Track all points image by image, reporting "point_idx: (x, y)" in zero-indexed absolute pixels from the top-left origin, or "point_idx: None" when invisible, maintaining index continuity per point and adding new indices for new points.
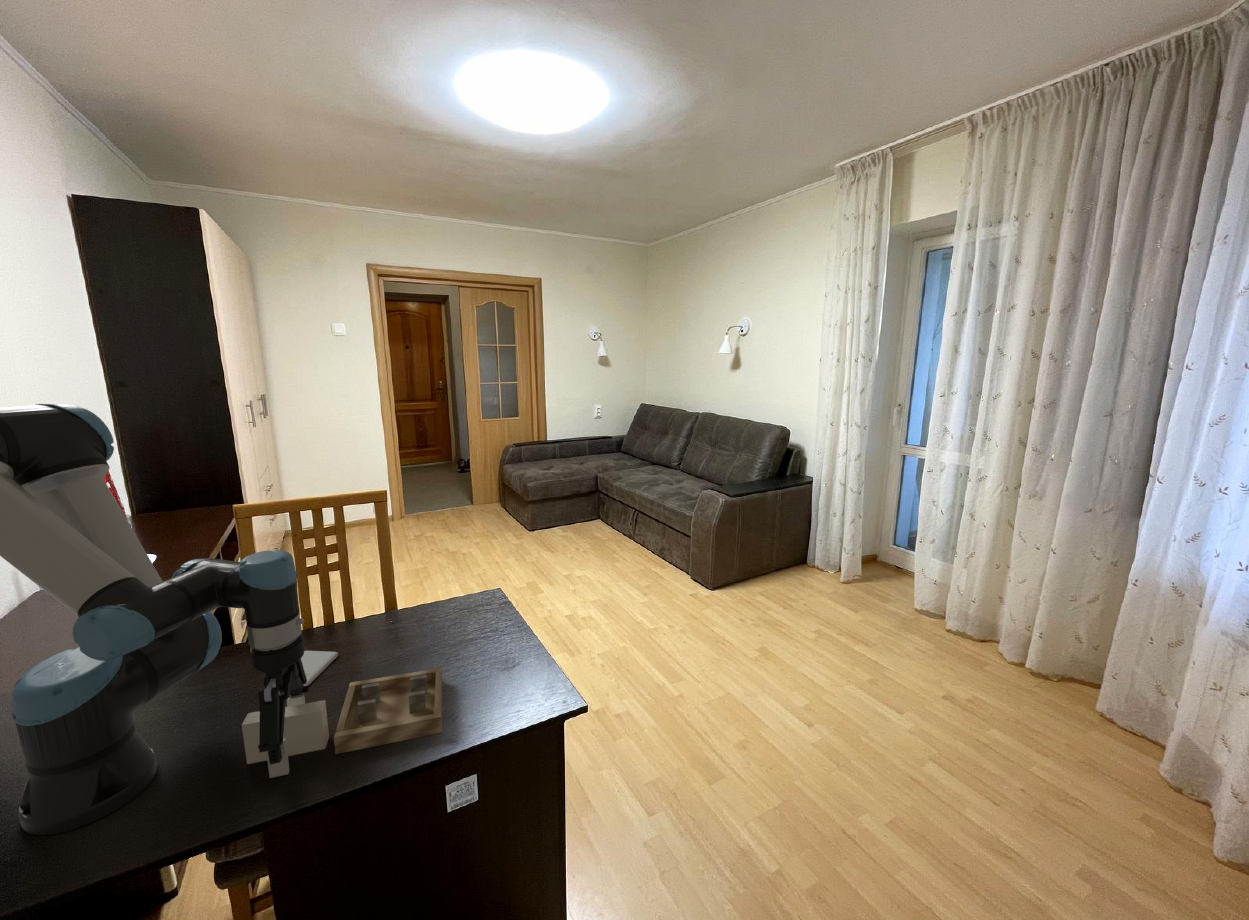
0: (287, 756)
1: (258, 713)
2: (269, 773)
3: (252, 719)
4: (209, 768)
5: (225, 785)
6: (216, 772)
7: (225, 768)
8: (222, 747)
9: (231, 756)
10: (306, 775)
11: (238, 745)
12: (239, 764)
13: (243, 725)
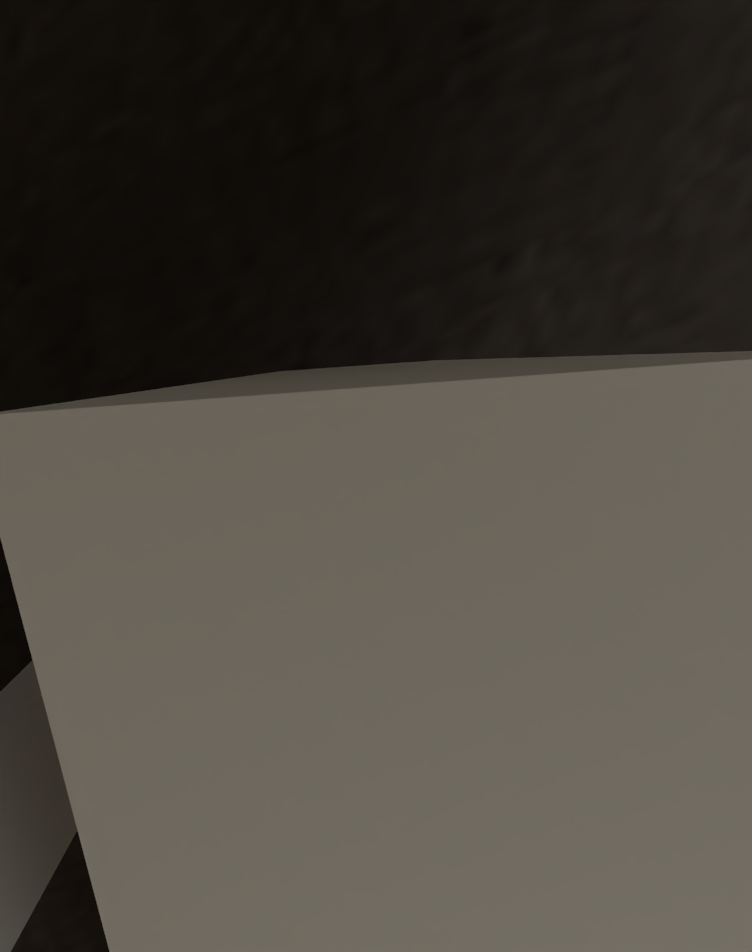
0: (31, 893)
1: (707, 794)
2: (32, 661)
3: (338, 753)
4: (287, 7)
5: (29, 285)
6: (216, 114)
7: (257, 185)
8: (579, 13)
9: (416, 174)
10: (79, 847)
11: (560, 179)
12: (287, 301)
13: (16, 489)
